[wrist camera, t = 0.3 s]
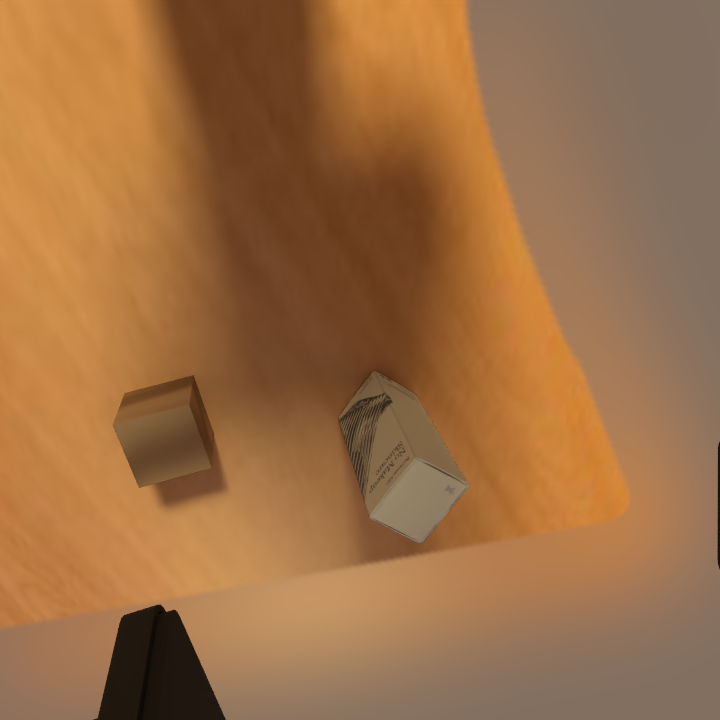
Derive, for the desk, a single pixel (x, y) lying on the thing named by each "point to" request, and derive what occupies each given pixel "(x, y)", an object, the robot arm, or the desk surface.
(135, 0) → the desk surface
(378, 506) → the box
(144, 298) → the desk surface
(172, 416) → the walnut cube
